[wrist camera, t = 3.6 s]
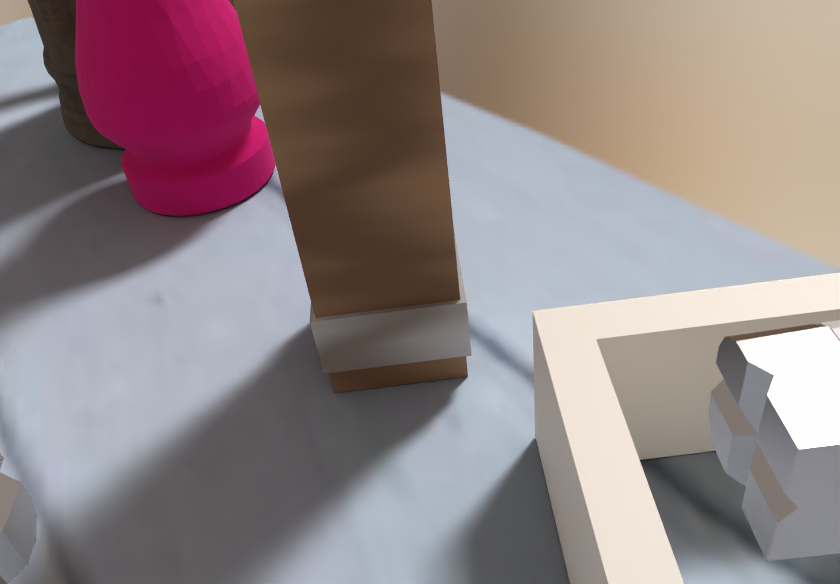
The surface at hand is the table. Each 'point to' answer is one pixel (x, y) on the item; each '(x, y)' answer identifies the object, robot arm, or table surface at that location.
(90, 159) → the table surface
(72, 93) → the beer stein
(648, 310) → the socket block
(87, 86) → the pepper mill
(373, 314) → the rail
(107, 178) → the table surface
